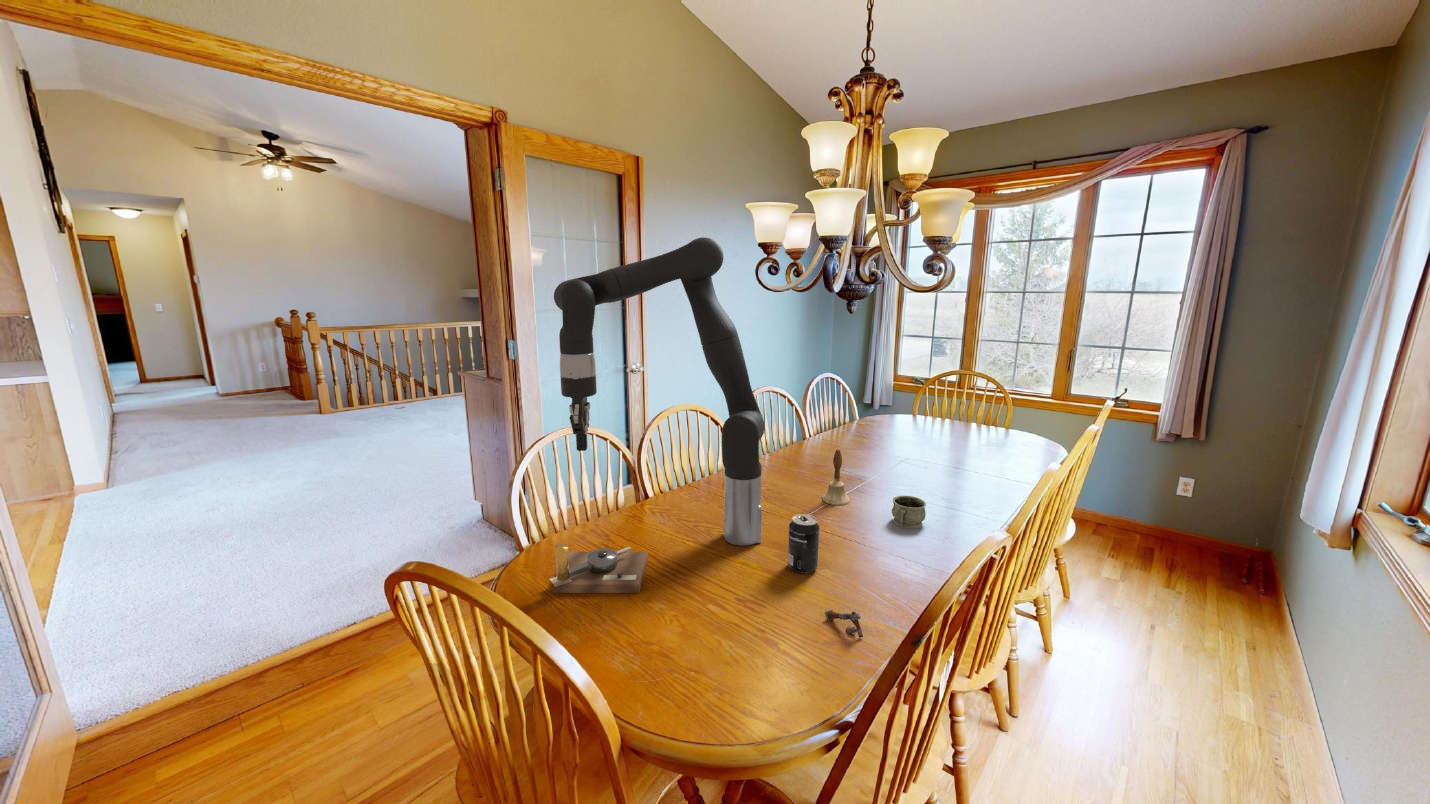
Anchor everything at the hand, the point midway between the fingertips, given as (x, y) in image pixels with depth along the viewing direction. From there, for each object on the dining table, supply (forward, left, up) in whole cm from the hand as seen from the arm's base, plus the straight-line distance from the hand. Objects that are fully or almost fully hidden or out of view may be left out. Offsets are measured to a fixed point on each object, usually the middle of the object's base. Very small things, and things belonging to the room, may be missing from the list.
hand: (582, 449), depth 118 cm
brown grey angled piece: (-54, +25, -27) cm, 66 cm away
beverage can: (-50, +4, -27) cm, 57 cm away
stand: (-5, +7, -27) cm, 28 cm away
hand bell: (-67, -36, -27) cm, 81 cm away
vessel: (-83, -20, -27) cm, 90 cm away
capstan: (-4, +8, -25) cm, 26 cm away
